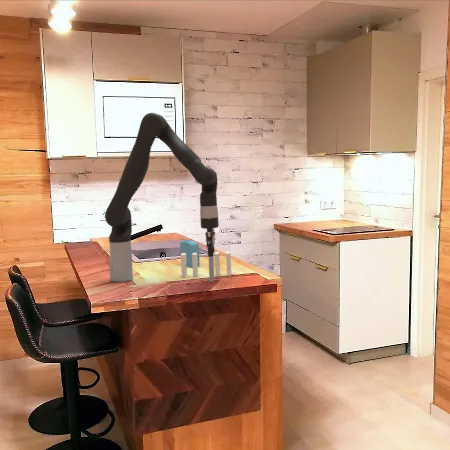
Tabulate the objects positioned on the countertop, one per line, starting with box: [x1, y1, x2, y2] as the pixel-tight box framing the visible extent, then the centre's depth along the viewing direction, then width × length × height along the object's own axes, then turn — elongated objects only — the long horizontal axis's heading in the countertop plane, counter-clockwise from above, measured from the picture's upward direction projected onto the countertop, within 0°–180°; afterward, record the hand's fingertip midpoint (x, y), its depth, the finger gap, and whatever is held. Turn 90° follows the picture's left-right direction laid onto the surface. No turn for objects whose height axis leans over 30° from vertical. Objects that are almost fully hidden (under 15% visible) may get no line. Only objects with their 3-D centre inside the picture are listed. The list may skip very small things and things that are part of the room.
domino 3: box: [208, 255, 215, 283], centre depth 213 cm, size 2×5×10 cm, turn 178°
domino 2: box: [192, 253, 199, 278], centre depth 225 cm, size 2×5×10 cm, turn 178°
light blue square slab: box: [179, 240, 201, 268], centre depth 251 cm, size 12×4×12 cm, turn 30°
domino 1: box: [180, 253, 188, 278], centre depth 225 cm, size 2×5×10 cm, turn 178°
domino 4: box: [214, 251, 221, 277], centre depth 224 cm, size 2×5×10 cm, turn 178°
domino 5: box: [225, 251, 232, 277], centre depth 224 cm, size 2×5×10 cm, turn 178°
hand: (211, 254), depth 213 cm, fingers open, 8 cm apart
